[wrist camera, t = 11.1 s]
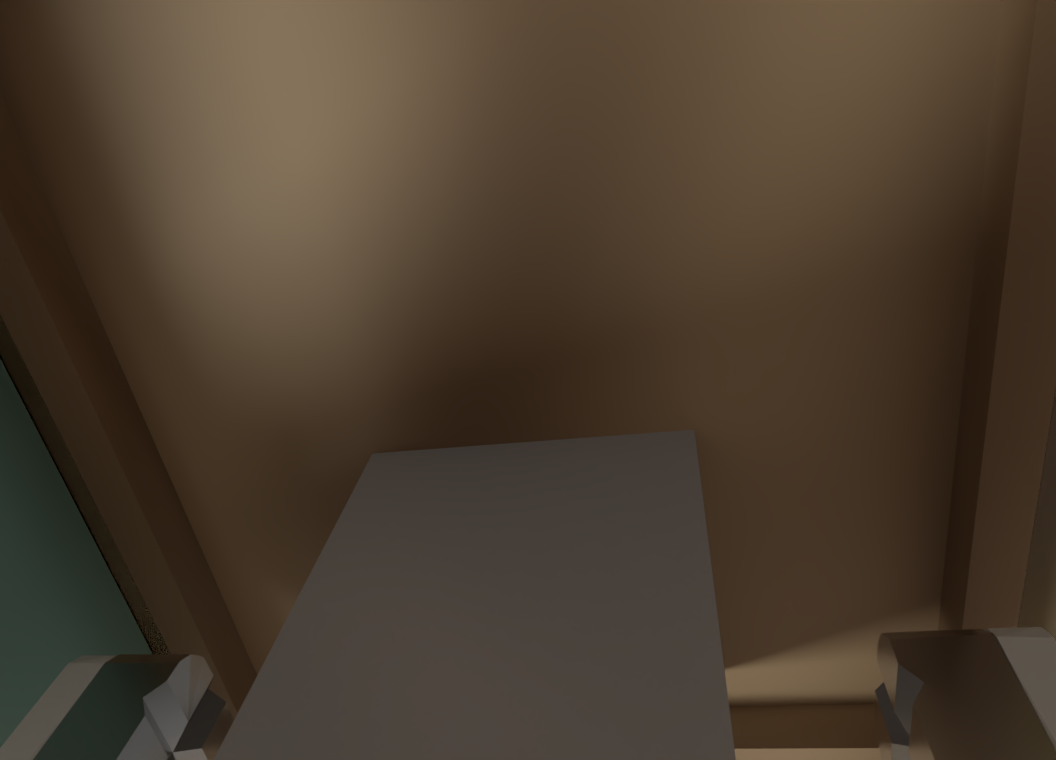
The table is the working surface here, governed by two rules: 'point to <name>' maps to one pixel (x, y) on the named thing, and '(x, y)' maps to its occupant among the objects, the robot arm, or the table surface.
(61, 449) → the table surface
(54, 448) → the table surface
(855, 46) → the tray
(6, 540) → the bin
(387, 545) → the slate block
